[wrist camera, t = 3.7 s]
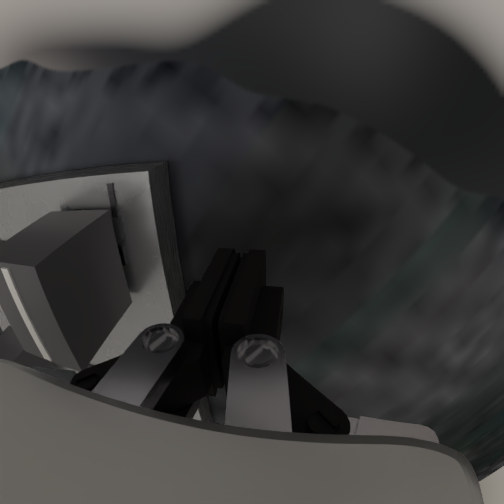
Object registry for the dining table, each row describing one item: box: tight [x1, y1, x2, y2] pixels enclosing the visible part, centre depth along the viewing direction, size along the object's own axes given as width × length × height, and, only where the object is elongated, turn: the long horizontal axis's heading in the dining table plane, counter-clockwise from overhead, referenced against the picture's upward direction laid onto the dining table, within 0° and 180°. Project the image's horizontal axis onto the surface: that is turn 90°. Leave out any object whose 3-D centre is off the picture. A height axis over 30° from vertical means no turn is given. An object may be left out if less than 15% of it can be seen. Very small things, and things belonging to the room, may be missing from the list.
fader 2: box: [0, 210, 132, 372], centre depth 12 cm, size 5×4×5 cm
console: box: [0, 161, 214, 423], centre depth 19 cm, size 22×20×2 cm
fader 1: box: [0, 326, 54, 368], centre depth 18 cm, size 5×4×5 cm
